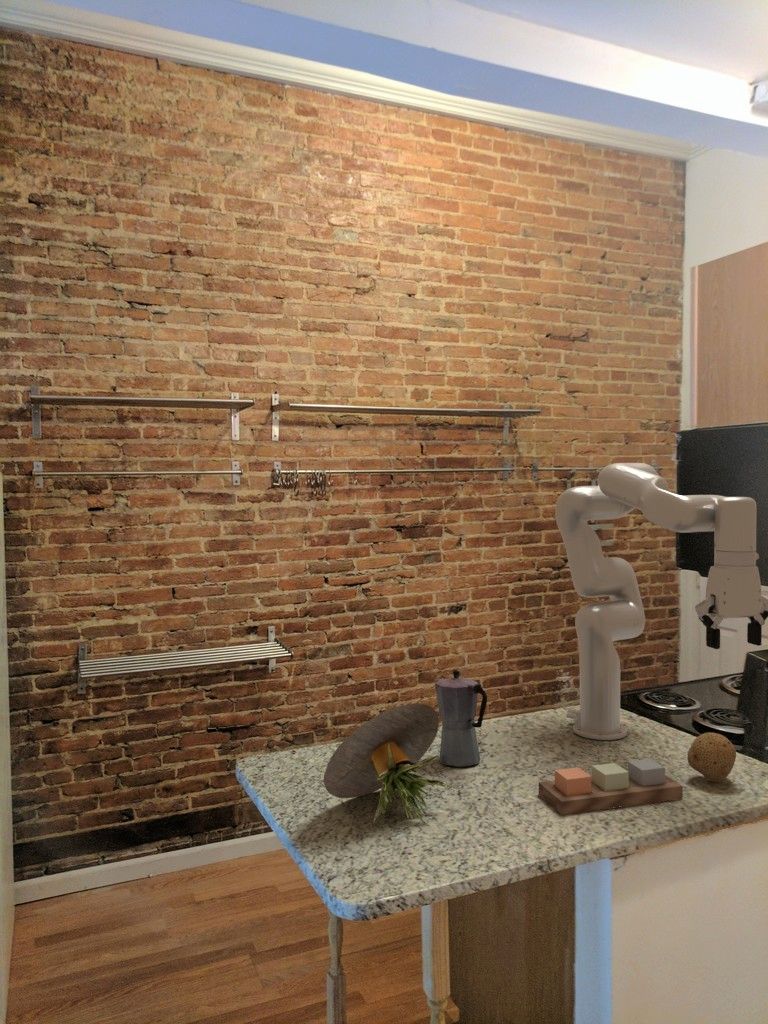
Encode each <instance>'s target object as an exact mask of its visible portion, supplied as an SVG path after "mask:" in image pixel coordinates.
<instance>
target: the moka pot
mask: <svg viewBox="0 0 768 1024" xmlns="http://www.w3.org/2000/svg"><path fill="white" fill-rule="evenodd" d="M452 674H453V677H449V678H438V679H436V680H434V682H435V683H434V688H435V694H436V700H437V707H438V713H439V717H440V718H441V725H442V727H441V738H440V748H439V761H440V763H441V764H442V765H444V766H445V765H446V766H449V767H470V766H475V765H477V764H478V763H479V762H480V761H481V756H480V749H479V744H478V737H477V731H476V728H482V726H483V720H484V715H485V711H486V708H487V704H488V696H487V693H486V691H485V690H484V689H483V687H482V684H481V683H480V684H479V682H477V681H475V680H473V679H469V678H463V677H460V671H459V670H457V669H455V670H453V671H452ZM479 694H480V695H481V696H482V699H481V703H480V708H479V712H478V715H479V716H478V719H477V722H475V717H476V716H477V709H478V708H477V705H478V696H479Z"/></svg>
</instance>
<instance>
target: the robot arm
mask: <svg viewBox="0 0 768 1024" xmlns="http://www.w3.org/2000/svg"><path fill="white" fill-rule="evenodd" d="M596 482H597V485H580V486H574V487H571V488H567V489H566V490H564V491H563V492H562V493H561V494H560V495H559V496H558V498H557V501H556V504H555V505H556V506H555V509H554V510H555V514H554V515H555V522H556V526H557V528H558V531H559V533H560V536H561V538H562V539H561V540H562V541H563V544H564V548H565V553H566V556H567V561H568V567H569V573H570V575H571V581H572V584H573V587H574V590H575V592H576V594H578V596H580V597H582V598H591V599H593V598H599V597H600V598H602V597H609V600H610V601H601V602H600V601H597V602H592V603H588V604H586V605H583V606H582V607H581V608H579V610H578V611H577V612H576V615H575V618H574V623H575V631H576V636H577V643H578V644H577V645H578V654H579V655H578V656H579V657H578V659H579V661H578V662H579V665H578V666H579V709H576V708H572V707H568V709H567V713H566V718H567V719H574V720H575V723H573V725H572V731H573V732H574V733H575V734H576V735H578V736H580V737H583V738H587V739H590V740H597V741H598V740H599V741H614V740H615V741H616V740H620V739H623V738H625V737H626V736H627V734H628V730H627V727H626V726H625V725H622V724H621V659H620V656H619V653H618V651H617V649H616V647H615V646H614V643H613V642H616V641H622V640H623V641H624V640H628V639H634V638H638V637H639V636H640V635H642V633H643V631H644V629H645V627H646V615H645V610H644V604H643V601H642V600H643V599H642V596H641V592H640V589H639V583H638V579H637V576H636V575H637V574H636V572H635V570H634V568H633V567H632V565H631V564H630V563H629V562H628V561H627V560H626V559H624V558H622V557H619V556H618V557H617V556H614V557H613V556H612V557H611V556H610V557H605V555H604V553H603V549H602V544H601V540H600V537H599V536H598V535H597V533H596V531H595V530H594V528H592V526H591V525H589V524H588V522H589V521H607V520H609V521H610V520H612V521H613V520H618V519H620V518H623V517H625V516H626V515H628V514H629V513H631V512H632V511H634V510H635V509H636V510H639V511H641V512H642V515H643V516H644V517H645V518H646V519H647V521H649V522H650V523H652V524H654V525H656V526H659V527H661V528H663V529H666V530H669V531H672V532H675V533H684V534H685V533H699V532H700V533H705V532H708V533H709V532H714V537H713V539H714V540H713V542H714V543H713V548H714V550H713V553H714V555H713V556H714V557H713V565H712V566H710V568H709V570H708V573H707V574H708V575H707V579H706V587H705V595H704V596H705V598H704V599H703V600H702V601H700V602H699V603H698V604H696V605H695V607H694V610H695V611H696V614H697V616H698V620H699V621H700V622H701V623H702V625H703V627H705V629H706V630H705V641H706V643H705V645H706V647H708V648H711V649H714V650H719V649H720V648H721V629H720V628H718V627H719V625H721V623H722V621H723V620H724V619H739V618H740V619H741V618H743V619H744V618H747V619H748V620H749V622H748V623H747V625H746V626H747V627H746V630H747V631H746V633H747V634H746V637H747V639H746V641H747V643H748V644H751V645H755V646H762V629H763V628H762V627H763V626H764V625H765V624H766V621H767V618H768V598H766V597H764V596H763V595H762V585H761V576H760V571H759V567H758V566H757V560H759V559H760V554H759V553H758V552H757V514H758V513H757V510H758V509H757V502H756V500H755V499H754V498H752V497H749V496H725V495H720V494H719V495H718V494H688V495H687V494H686V495H682V494H681V495H680V494H676V493H673V492H670V487H669V484H668V482H667V480H666V479H665V478H664V477H663V476H661V475H659V473H658V472H657V470H656V469H655V467H653V466H652V465H650V464H647V463H644V462H615V463H610V464H607V466H605V467H603V468H602V469H601V470H600V471H599V473H598V475H597V480H596Z"/></svg>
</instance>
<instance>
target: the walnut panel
mask: <svg viewBox="0 0 768 1024" xmlns="http://www.w3.org/2000/svg"><path fill="white" fill-rule="evenodd" d="M590 776H591V793H587V794H579V795H572V796H566V795H565V794H563V793H562V792H561V791H560V790H558V789H557V788H556V787H555V779H554V780H553V779H552V780H546V781H538V796H540V798H542V799H543V800H544V801H545V802H546V803H547V804H549V805H550V806H551V807H552V808H553V809H554V810H556V811H557V812H558V813H559V814H560V815H562V816H565V815H571V814H578V813H579V814H580V813H586V812H587V811H588V812H592V811H591V810H595V811H601V810H600V809H602V810H608V809H607V808H610V809H614V808H613V807H617V808H620V807H619V806H625V807H630V806H629V805H632V806H638V805H637V804H639V805H645V804H646V803H647V804H653V803H652V802H654V803H660V802H661V801H662V802H667V801H666V800H669V801H675V800H674V799H676V800H682V799H681V798H683V795H684V794H683V789H684V788H683V785H682V784H680V783H678V782H677V781H675V780H673V779H672V778H670V777H669V776H667V775H665V784H657V785H649V786H640V785H639V784H637V783H636V782H634V781H633V780H631V779H630V778H629V788H626V789H618V790H610V791H604V790H602V789H601V788H600V787H598V786H597V785H595V784H594V783H593V782H592V775H590ZM647 804H646V805H647Z"/></svg>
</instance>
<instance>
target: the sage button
mask: <svg viewBox="0 0 768 1024" xmlns="http://www.w3.org/2000/svg"><path fill="white" fill-rule="evenodd" d="M591 776H592V782H593V783H594V784H595V785H597V786H598V787H600V788H601V789H602V790H604V791H610V790H618V789H626V788H629V772H628V770H626V769H624V768H623V767H621V766H620V765H619V764H617V763H615V762H613V763H603V764H596V765H591Z"/></svg>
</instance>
